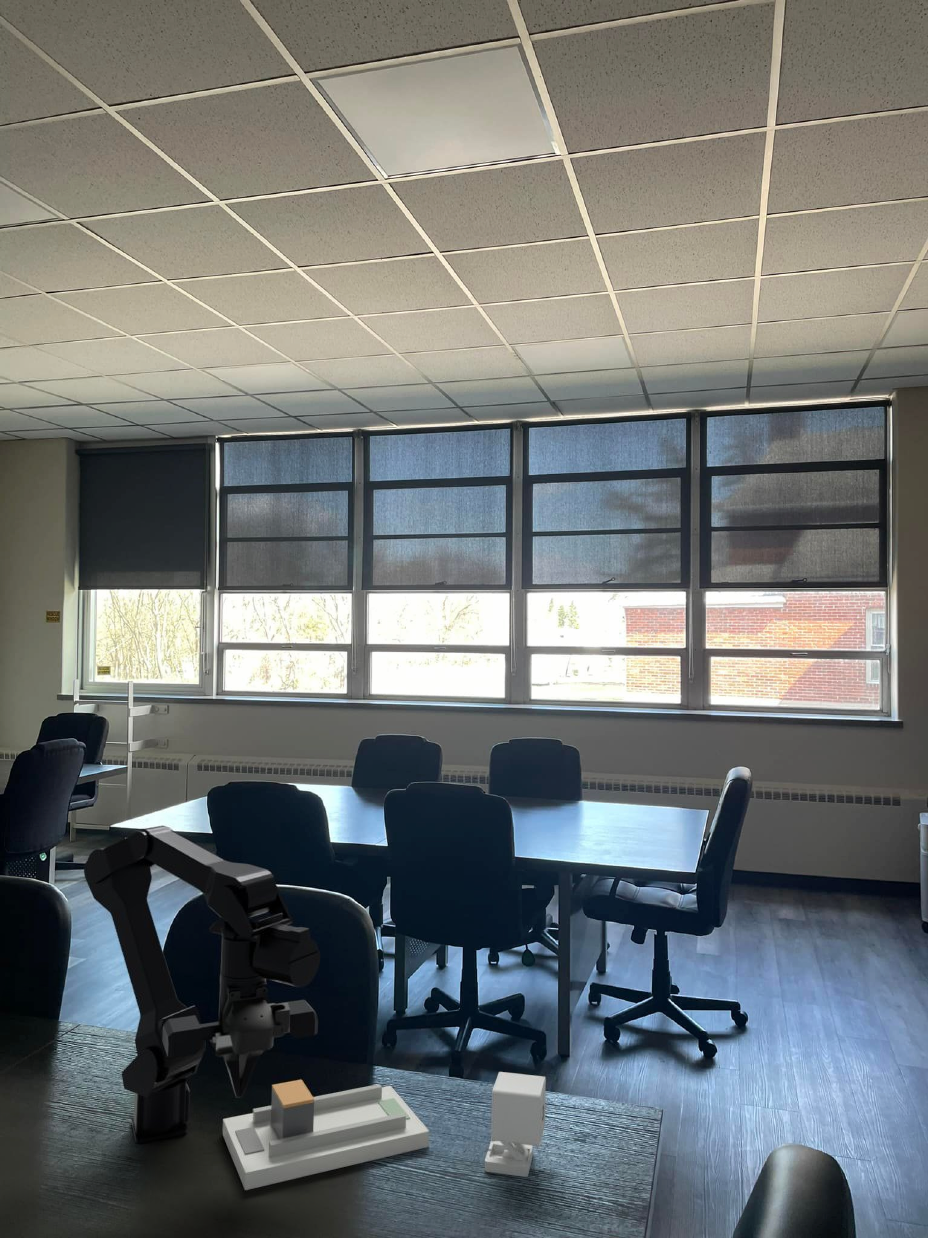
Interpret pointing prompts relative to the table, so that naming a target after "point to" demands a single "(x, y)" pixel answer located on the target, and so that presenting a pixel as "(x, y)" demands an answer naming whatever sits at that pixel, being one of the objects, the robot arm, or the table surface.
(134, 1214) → the table surface
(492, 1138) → the security camera
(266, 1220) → the table surface
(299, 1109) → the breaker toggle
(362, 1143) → the white rail tray
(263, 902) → the robot arm
